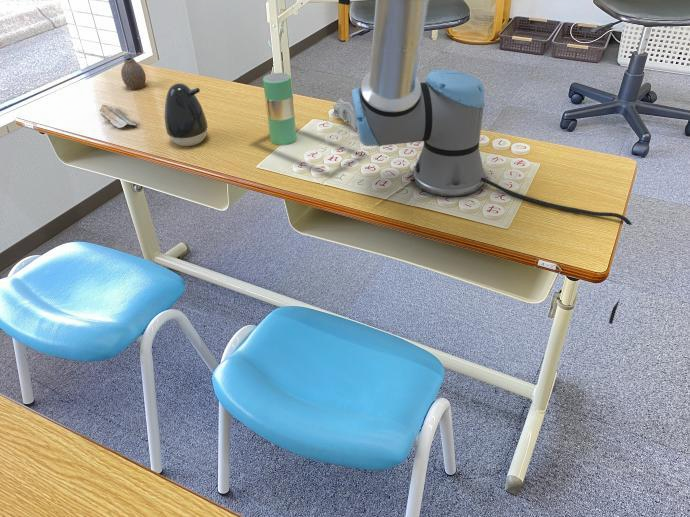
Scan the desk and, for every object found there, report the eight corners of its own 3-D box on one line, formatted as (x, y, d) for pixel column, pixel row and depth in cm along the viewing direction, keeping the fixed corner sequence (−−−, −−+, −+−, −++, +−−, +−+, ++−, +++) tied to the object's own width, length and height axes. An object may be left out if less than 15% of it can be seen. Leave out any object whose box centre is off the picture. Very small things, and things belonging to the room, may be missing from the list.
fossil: (94, 112, 167) (103, 100, 167) (103, 119, 169) (113, 107, 170) (119, 132, 155) (129, 119, 156) (129, 139, 158) (139, 127, 158)
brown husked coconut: (121, 91, 180) (113, 62, 174) (131, 82, 185) (123, 54, 180) (142, 91, 179) (134, 63, 173) (151, 83, 184) (144, 55, 179)
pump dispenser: (201, 152, 145) (189, 93, 136) (163, 150, 147) (148, 91, 138) (217, 134, 153) (206, 77, 144) (180, 132, 155) (167, 75, 146)
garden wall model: (333, 114, 160) (332, 93, 156) (338, 113, 161) (337, 92, 157) (354, 130, 152) (353, 109, 148) (360, 129, 152) (360, 107, 149)
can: (296, 76, 139) (277, 70, 142) (276, 84, 135) (256, 78, 138) (302, 137, 148) (284, 130, 152) (283, 147, 145) (264, 140, 148)
